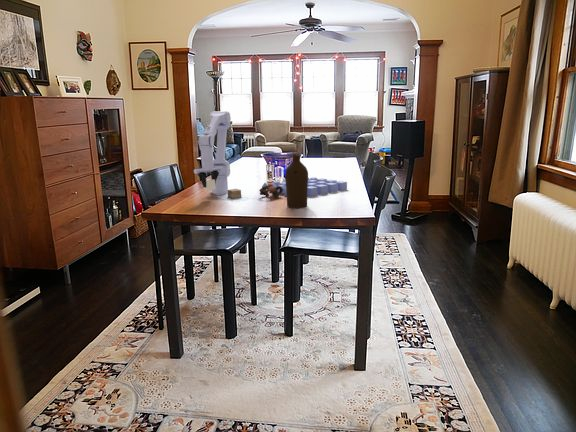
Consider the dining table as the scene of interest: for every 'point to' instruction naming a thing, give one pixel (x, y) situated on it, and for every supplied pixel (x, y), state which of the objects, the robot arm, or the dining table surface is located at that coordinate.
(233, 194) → the walnut base block
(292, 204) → the olive oil
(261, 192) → the dark brown figurine
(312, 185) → the blocks
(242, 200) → the board
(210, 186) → the ivory block
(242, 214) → the dining table surface
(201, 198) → the dining table surface
